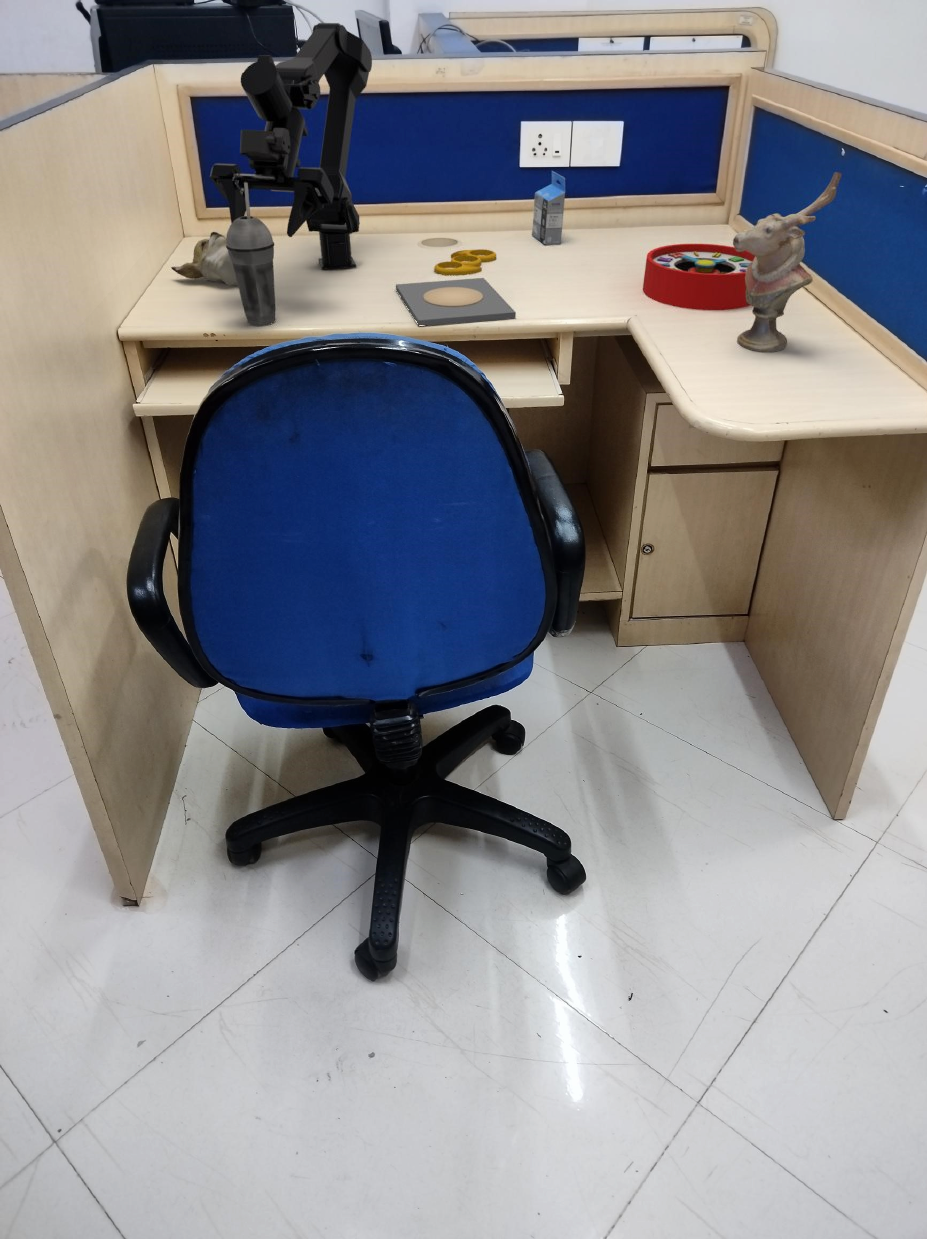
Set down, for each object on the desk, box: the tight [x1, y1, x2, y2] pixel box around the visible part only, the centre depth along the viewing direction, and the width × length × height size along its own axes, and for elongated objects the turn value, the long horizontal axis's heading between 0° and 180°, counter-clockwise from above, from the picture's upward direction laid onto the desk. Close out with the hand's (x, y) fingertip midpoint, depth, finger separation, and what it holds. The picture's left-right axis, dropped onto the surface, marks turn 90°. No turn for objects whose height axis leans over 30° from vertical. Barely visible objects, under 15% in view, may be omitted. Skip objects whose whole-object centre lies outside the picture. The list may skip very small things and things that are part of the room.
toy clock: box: [642, 243, 755, 311], centre depth 146 cm, size 20×6×20 cm
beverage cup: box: [225, 183, 277, 327], centre depth 130 cm, size 7×7×20 cm
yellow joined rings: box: [433, 248, 497, 277], centre depth 162 cm, size 17×2×10 cm
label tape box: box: [531, 170, 566, 246], centre depth 173 cm, size 9×4×12 cm, turn 14°
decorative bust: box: [732, 171, 843, 353], centre depth 119 cm, size 11×12×24 cm
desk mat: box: [395, 277, 517, 327], centre depth 142 cm, size 20×16×1 cm
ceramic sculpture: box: [170, 231, 238, 287], centre depth 152 cm, size 11×9×15 cm
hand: (261, 233), depth 132 cm, fingers open, 9 cm apart
